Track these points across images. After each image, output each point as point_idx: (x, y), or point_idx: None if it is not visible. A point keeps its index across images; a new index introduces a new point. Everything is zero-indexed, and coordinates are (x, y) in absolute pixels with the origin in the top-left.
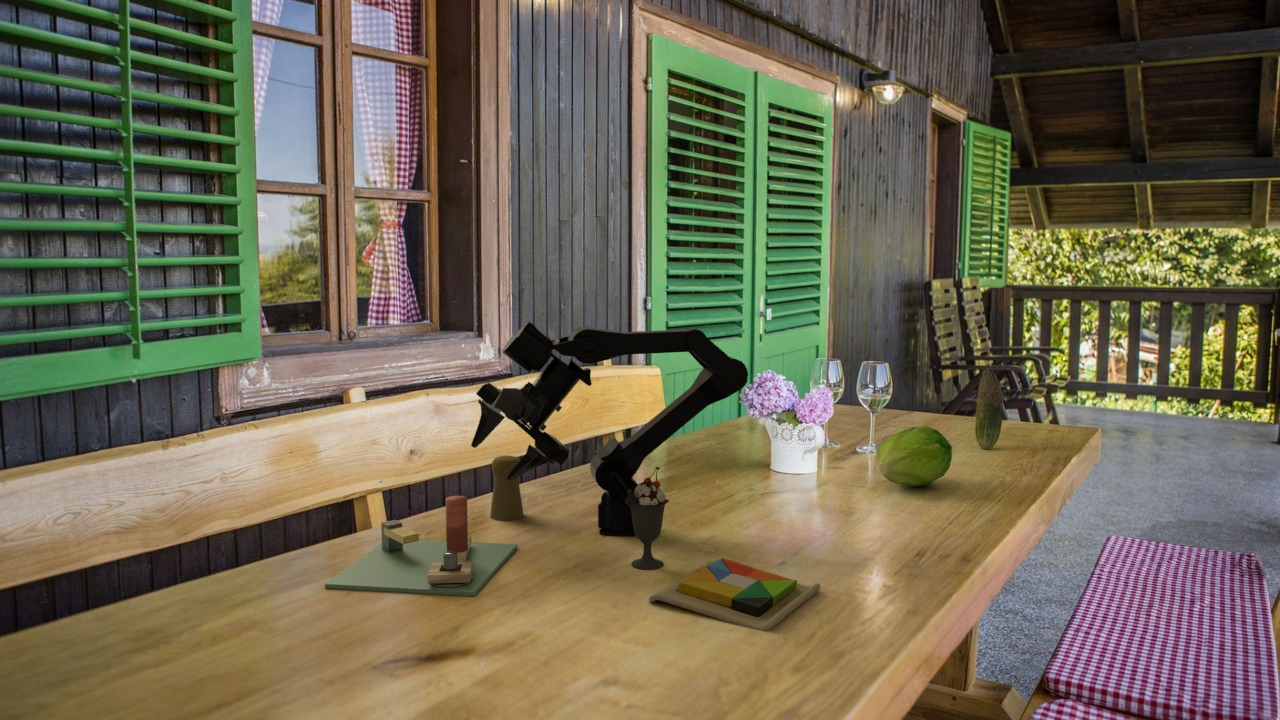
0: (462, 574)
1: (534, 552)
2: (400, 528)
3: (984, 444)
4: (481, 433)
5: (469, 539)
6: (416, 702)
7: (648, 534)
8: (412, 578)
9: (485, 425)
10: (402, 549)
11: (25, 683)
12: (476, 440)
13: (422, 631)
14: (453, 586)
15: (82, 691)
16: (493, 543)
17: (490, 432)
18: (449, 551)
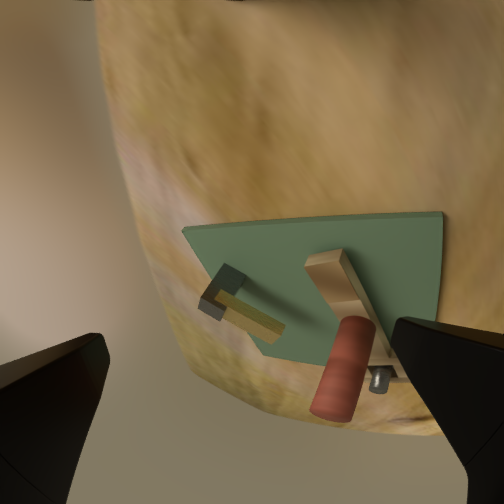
0: (404, 382)
1: (485, 233)
2: (236, 317)
3: None
4: (82, 428)
5: (353, 289)
6: (423, 433)
7: None
8: None
9: (65, 477)
10: (245, 275)
11: (247, 402)
12: (101, 393)
13: (400, 404)
14: None
15: (273, 410)
16: (385, 221)
17: (24, 387)
18: (374, 387)
